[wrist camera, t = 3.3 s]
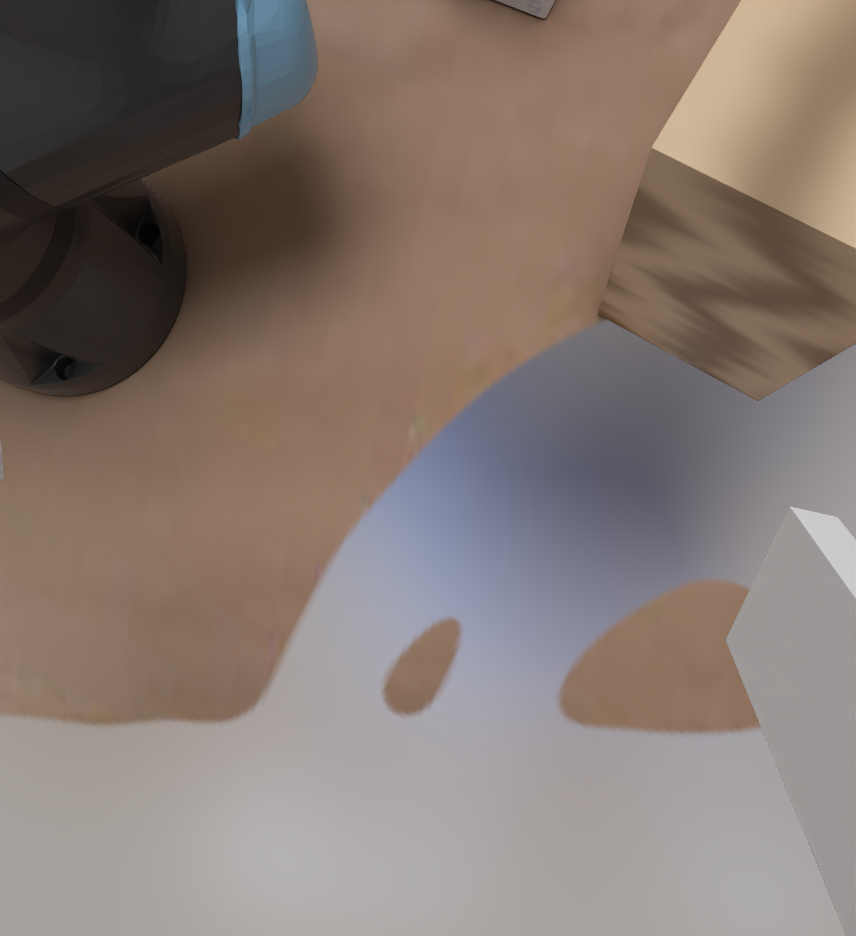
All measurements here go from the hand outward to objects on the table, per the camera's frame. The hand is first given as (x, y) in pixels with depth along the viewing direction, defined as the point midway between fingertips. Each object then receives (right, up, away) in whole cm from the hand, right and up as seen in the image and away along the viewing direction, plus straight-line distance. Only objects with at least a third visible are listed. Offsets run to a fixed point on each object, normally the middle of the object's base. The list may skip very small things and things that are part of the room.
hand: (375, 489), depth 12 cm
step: (+19, +13, +29) cm, 37 cm away
